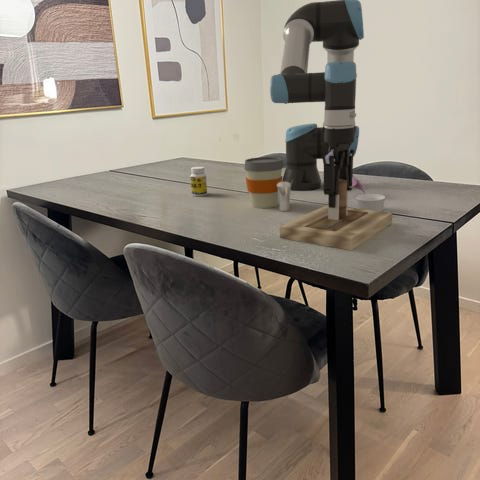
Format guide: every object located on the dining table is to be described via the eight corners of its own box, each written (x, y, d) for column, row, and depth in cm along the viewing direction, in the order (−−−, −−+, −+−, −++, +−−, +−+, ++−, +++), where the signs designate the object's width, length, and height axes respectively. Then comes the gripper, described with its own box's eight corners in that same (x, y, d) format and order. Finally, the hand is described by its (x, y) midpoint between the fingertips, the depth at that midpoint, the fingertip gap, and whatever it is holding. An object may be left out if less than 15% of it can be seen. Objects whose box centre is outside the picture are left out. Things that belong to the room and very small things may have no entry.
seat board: (279, 237, 125) (279, 225, 124) (326, 214, 144) (326, 204, 143) (351, 250, 113) (351, 237, 112) (391, 223, 132) (392, 212, 131)
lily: (360, 204, 158) (375, 178, 157) (329, 189, 162) (343, 163, 161) (365, 207, 169) (379, 183, 168) (336, 192, 173) (349, 168, 172)
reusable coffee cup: (255, 199, 168) (253, 156, 163) (289, 201, 162) (288, 157, 158) (239, 208, 157) (237, 162, 153) (275, 210, 152) (274, 163, 147)
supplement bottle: (189, 196, 178) (186, 168, 175) (196, 192, 183) (194, 166, 180) (203, 196, 176) (201, 169, 173) (209, 193, 181) (208, 166, 178)
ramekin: (370, 215, 141) (371, 201, 140) (348, 210, 149) (349, 196, 147) (391, 210, 146) (391, 196, 144) (369, 205, 153) (369, 192, 152)
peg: (326, 218, 127) (326, 181, 124) (333, 214, 130) (334, 178, 127) (341, 220, 124) (342, 182, 121) (349, 216, 128) (350, 179, 125)
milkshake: (289, 212, 148) (289, 180, 145) (274, 211, 151) (273, 179, 148) (296, 209, 152) (295, 178, 149) (281, 207, 155) (280, 177, 152)
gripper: (337, 130, 111) (335, 226, 118) (367, 124, 125) (364, 211, 132) (309, 130, 116) (309, 222, 123) (341, 124, 129) (339, 208, 136)
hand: (337, 216), depth 127 cm, fingers closed on peg, 4 cm apart
